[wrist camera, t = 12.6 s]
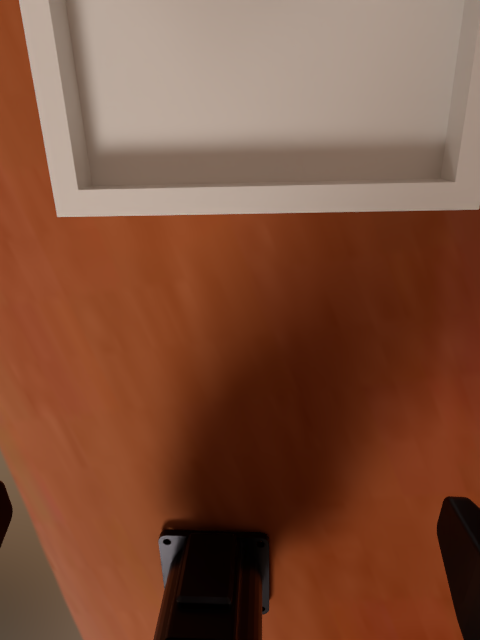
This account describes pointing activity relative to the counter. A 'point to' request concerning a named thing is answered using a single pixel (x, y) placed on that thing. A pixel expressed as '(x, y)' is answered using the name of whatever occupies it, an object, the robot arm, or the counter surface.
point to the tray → (257, 105)
